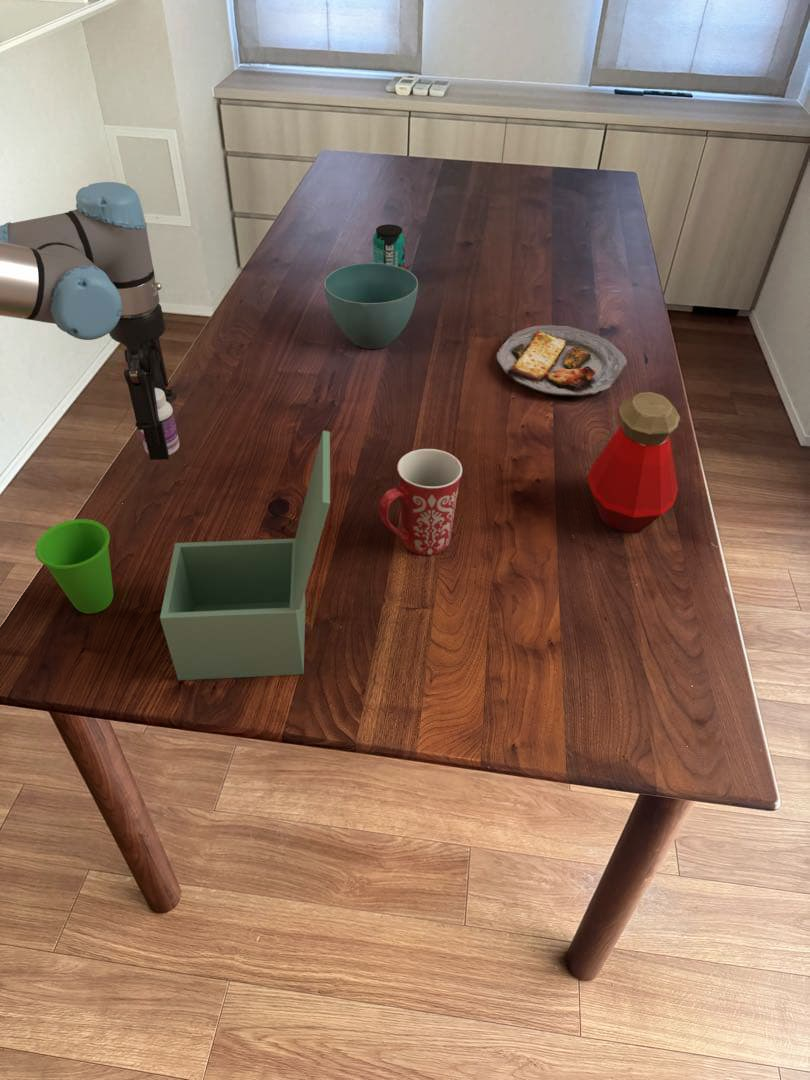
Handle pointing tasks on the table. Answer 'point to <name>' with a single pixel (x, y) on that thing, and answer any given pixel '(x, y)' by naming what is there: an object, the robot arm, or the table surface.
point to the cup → (79, 562)
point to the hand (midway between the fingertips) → (162, 446)
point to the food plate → (561, 360)
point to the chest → (233, 610)
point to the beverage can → (389, 245)
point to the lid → (312, 519)
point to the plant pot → (371, 301)
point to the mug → (424, 500)
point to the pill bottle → (165, 423)
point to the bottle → (637, 465)
